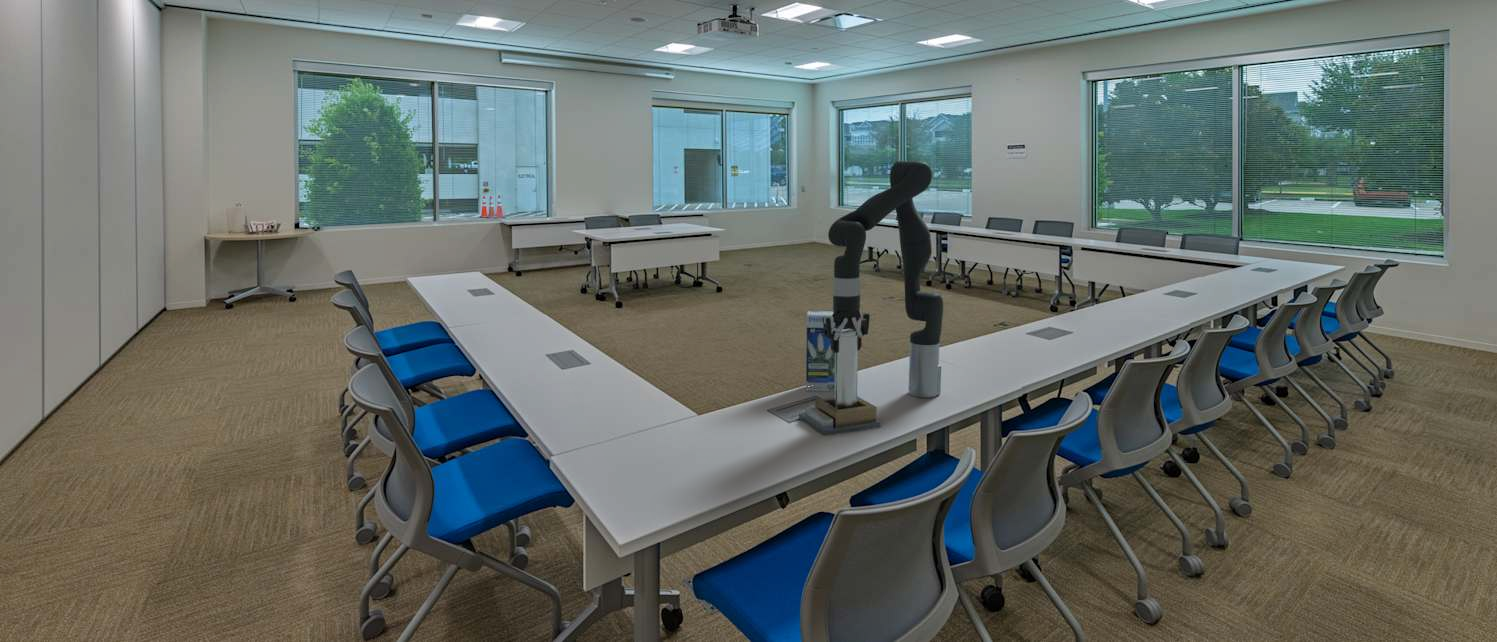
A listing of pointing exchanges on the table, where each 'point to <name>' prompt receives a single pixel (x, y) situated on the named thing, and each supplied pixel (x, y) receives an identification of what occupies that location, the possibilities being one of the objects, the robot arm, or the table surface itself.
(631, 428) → the table surface
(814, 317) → the string lights box
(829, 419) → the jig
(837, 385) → the white tall cylinder
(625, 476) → the table surface
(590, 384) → the table surface
